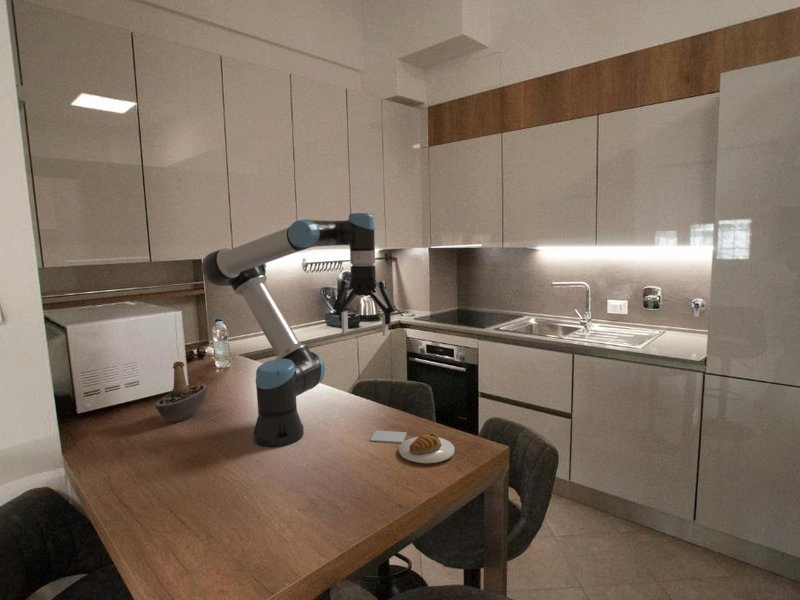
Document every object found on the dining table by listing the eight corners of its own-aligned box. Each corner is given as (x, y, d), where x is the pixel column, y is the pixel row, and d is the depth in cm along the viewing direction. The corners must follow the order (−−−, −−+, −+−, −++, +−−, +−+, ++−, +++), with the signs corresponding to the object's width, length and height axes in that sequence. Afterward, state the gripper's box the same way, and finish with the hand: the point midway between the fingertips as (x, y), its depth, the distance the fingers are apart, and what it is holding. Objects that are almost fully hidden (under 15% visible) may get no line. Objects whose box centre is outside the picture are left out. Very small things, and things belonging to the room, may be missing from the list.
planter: (208, 406, 176) (204, 354, 173) (205, 423, 160) (200, 365, 158) (164, 412, 171) (159, 358, 169) (156, 430, 156) (151, 370, 153)
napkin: (370, 441, 144) (370, 439, 144) (375, 431, 151) (375, 430, 151) (402, 443, 143) (402, 441, 142) (406, 433, 149) (406, 432, 149)
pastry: (420, 459, 130) (420, 445, 129) (403, 451, 135) (403, 438, 134) (443, 448, 136) (443, 435, 136) (426, 441, 141) (426, 428, 140)
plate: (390, 460, 132) (390, 456, 132) (409, 437, 147) (409, 433, 146) (446, 469, 126) (446, 465, 126) (460, 444, 141) (460, 440, 141)
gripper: (320, 265, 145) (323, 333, 148) (397, 266, 136) (398, 338, 139) (332, 263, 152) (334, 329, 155) (405, 264, 143) (407, 333, 146)
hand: (364, 333), depth 147 cm, fingers open, 13 cm apart
